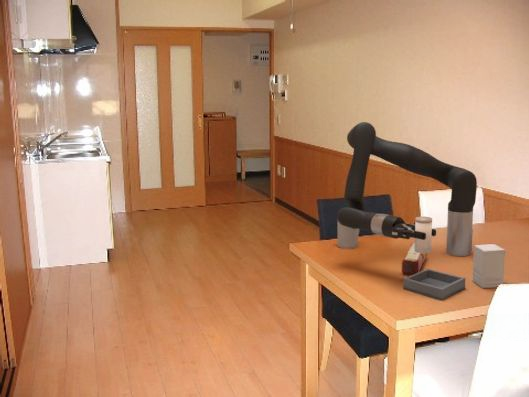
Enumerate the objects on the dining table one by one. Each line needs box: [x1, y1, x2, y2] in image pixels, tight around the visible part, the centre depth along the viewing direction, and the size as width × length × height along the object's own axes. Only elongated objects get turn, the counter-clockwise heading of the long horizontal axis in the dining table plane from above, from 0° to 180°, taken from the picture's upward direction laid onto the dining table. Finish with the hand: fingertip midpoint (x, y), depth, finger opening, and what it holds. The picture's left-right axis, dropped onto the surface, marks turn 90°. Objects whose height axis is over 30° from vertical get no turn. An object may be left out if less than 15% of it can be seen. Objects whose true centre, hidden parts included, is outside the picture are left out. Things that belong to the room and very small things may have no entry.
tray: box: [402, 268, 466, 301], centre depth 178 cm, size 14×14×4 cm
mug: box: [336, 221, 360, 250], centre depth 228 cm, size 12×8×11 cm
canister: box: [414, 216, 433, 254], centre depth 178 cm, size 5×5×11 cm
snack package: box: [401, 241, 428, 276], centre depth 200 cm, size 21×7×7 cm, turn 156°
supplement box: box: [472, 243, 506, 289], centre depth 180 cm, size 7×7×13 cm
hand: (430, 234), depth 176 cm, fingers closed on canister, 5 cm apart
